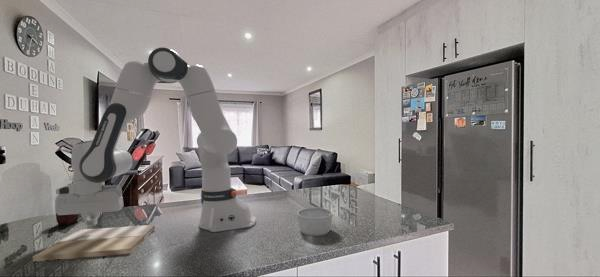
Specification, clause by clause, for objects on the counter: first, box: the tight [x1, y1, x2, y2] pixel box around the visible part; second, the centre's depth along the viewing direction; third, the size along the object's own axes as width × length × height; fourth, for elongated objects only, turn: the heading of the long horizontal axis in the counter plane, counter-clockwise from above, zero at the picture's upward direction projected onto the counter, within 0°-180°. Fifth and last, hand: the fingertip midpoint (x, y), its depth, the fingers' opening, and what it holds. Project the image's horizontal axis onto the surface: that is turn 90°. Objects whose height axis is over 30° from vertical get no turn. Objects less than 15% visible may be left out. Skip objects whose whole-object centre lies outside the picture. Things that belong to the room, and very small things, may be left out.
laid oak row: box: [32, 236, 145, 263], centre depth 84 cm, size 26×10×2 cm, turn 100°
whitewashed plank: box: [58, 224, 156, 242], centre depth 94 cm, size 26×10×2 cm, turn 100°
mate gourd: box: [55, 213, 79, 227], centre depth 108 cm, size 8×8×15 cm
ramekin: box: [296, 207, 333, 237], centre depth 99 cm, size 13×13×7 cm
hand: (91, 224), depth 94 cm, fingers closed
